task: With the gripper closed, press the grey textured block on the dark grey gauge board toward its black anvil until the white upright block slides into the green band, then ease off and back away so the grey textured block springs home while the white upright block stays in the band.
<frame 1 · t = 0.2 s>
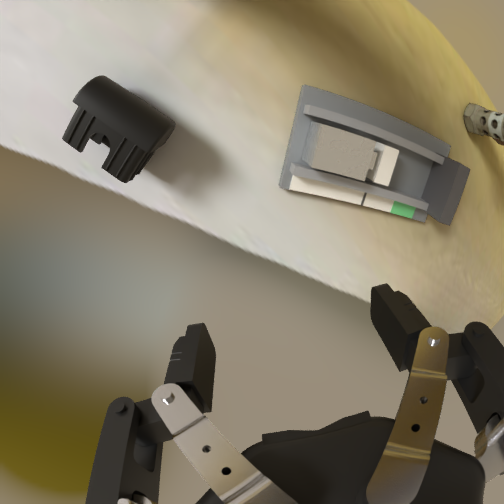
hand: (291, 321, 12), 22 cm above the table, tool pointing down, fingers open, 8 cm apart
end cap: (130, 122, 26), on the table
grenade model: (471, 126, 27), on the table
grey textured block: (344, 151, 26), point 3 cm above the table, slide at 0.0 cm
white upright block: (381, 163, 28), point 3 cm above the table, slide at 0.0 cm
gauge board: (374, 159, 30), on the table
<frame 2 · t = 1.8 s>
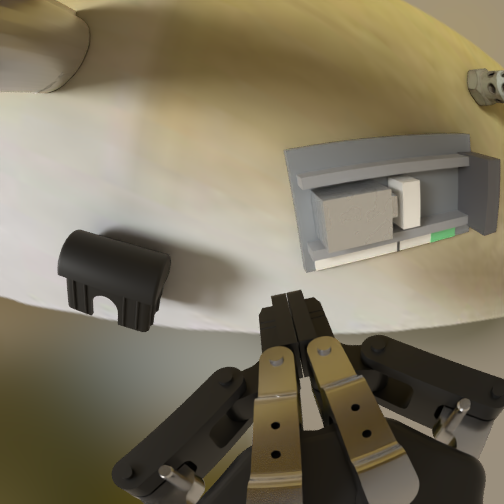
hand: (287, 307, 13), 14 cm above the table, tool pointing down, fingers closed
end cap: (127, 259, 27), on the table
grenade model: (480, 95, 20), on the table
grey textured block: (359, 212, 23), point 3 cm above the table, slide at 0.0 cm
white upright block: (404, 201, 23), point 3 cm above the table, slide at 0.0 cm
gauge board: (395, 193, 25), on the table
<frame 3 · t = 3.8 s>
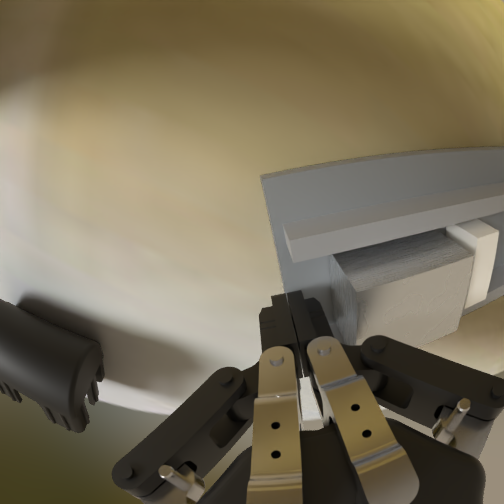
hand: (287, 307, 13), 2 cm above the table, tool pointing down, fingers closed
end cap: (55, 331, 17), on the table
grey textured block: (411, 287, 12), point 3 cm above the table, slide at 0.9 cm, touching gripper, white upright block
white upright block: (468, 260, 12), point 3 cm above the table, slide at 0.5 cm, touching grey textured block
gauge board: (444, 241, 15), on the table
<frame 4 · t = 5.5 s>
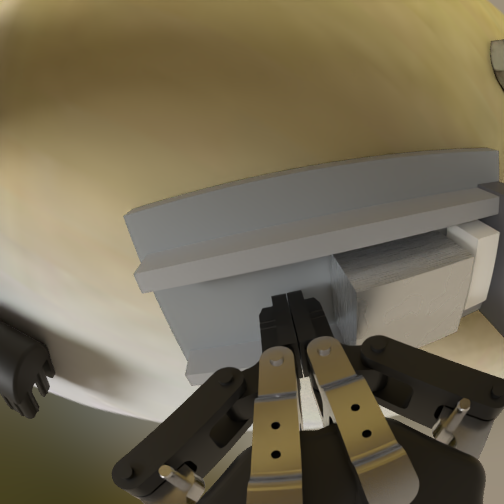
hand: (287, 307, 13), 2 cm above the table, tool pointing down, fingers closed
end cap: (16, 332, 18), on the table
grey textured block: (411, 288, 12), point 3 cm above the table, slide at 7.7 cm, touching gripper, white upright block
white upright block: (469, 261, 12), point 3 cm above the table, slide at 7.3 cm, touching grey textured block
gauge board: (355, 266, 15), on the table
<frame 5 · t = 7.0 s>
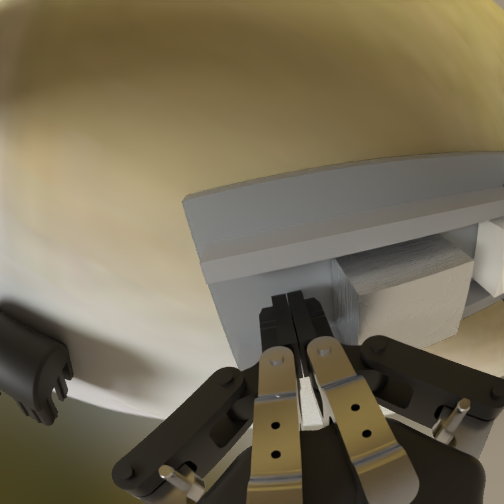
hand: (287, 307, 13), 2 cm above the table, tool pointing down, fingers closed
end cap: (30, 332, 17), on the table
grey textured block: (412, 291, 12), point 3 cm above the table, slide at 4.7 cm, touching gripper
white upright block: (497, 253, 12), point 3 cm above the table, slide at 7.3 cm
gauge board: (400, 257, 15), on the table
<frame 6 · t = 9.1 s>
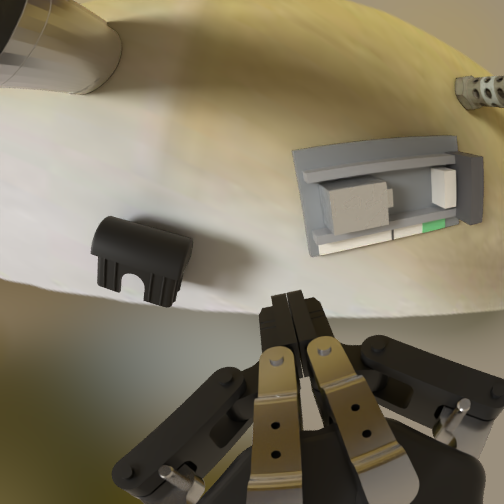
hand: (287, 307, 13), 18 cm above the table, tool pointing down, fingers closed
end cap: (152, 244, 32), on the table
grenade model: (468, 100, 24), on the table
grey textured block: (360, 202, 26), point 3 cm above the table, slide at 0.4 cm
white upright block: (443, 186, 26), point 3 cm above the table, slide at 7.3 cm
gauge board: (389, 188, 29), on the table
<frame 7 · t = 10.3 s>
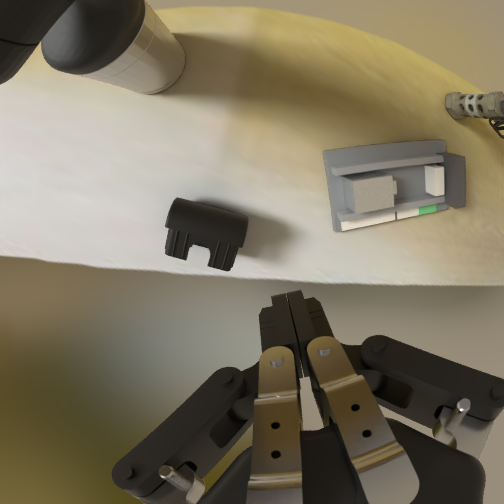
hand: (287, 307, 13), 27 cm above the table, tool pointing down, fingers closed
end cap: (208, 222, 40), on the table
grenade model: (455, 111, 32), on the table
grey textured block: (373, 190, 35), point 3 cm above the table, slide at 0.4 cm
white upright block: (434, 179, 35), point 3 cm above the table, slide at 7.3 cm
gauge board: (393, 180, 38), on the table
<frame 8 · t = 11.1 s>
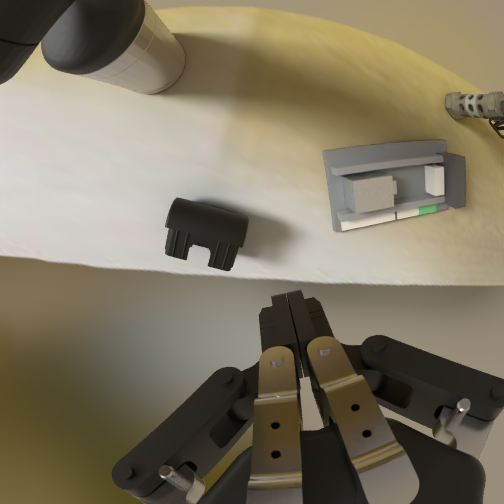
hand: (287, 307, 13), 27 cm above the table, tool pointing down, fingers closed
end cap: (208, 222, 40), on the table
grenade model: (455, 111, 32), on the table
grey textured block: (373, 190, 35), point 3 cm above the table, slide at 0.4 cm
white upright block: (434, 179, 35), point 3 cm above the table, slide at 7.3 cm
gauge board: (393, 180, 38), on the table
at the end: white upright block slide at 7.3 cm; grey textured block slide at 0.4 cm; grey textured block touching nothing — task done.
